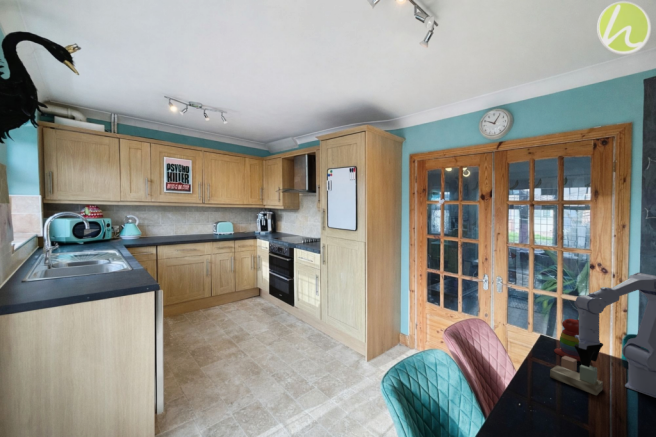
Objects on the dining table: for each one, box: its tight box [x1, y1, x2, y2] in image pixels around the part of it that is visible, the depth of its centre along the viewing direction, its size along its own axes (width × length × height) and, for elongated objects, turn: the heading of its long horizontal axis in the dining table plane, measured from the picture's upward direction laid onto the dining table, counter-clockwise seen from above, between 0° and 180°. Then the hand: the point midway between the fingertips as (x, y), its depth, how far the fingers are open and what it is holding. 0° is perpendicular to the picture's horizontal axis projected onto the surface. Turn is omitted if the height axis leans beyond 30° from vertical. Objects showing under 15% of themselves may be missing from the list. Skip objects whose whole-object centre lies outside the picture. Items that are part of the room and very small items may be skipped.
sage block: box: [579, 364, 598, 384], centre depth 106 cm, size 4×4×5 cm
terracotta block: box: [560, 356, 578, 372], centre depth 118 cm, size 4×4×5 cm
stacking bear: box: [553, 318, 581, 362], centre depth 131 cm, size 11×10×18 cm
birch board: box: [549, 365, 604, 396], centre depth 109 cm, size 14×7×3 cm, turn 32°
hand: (589, 363), depth 106 cm, fingers open, 7 cm apart
